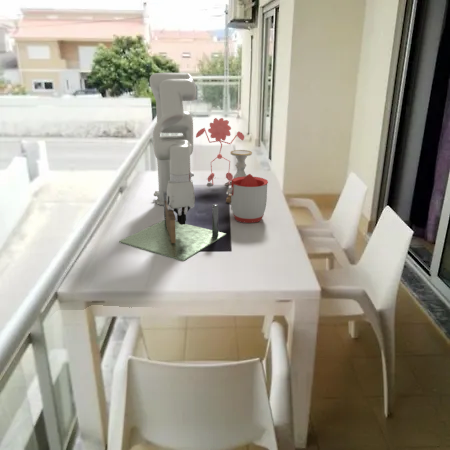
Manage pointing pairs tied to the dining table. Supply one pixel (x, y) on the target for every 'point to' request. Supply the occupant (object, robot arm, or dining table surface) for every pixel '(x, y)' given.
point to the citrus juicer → (248, 198)
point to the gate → (170, 223)
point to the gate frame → (185, 237)
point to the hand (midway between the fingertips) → (181, 223)
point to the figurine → (219, 139)
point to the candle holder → (239, 165)
